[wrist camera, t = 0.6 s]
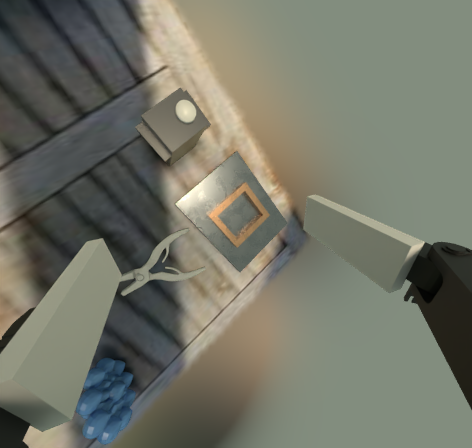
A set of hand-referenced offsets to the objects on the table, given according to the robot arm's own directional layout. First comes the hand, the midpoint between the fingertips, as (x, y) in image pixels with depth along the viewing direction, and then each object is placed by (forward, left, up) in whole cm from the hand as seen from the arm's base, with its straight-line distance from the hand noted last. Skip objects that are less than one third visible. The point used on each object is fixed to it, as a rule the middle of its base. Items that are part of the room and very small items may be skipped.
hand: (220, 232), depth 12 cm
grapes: (+13, -29, -25) cm, 41 cm away
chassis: (+8, +8, -25) cm, 27 cm away
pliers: (+5, -10, -25) cm, 28 cm away
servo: (-10, +7, -25) cm, 27 cm away
